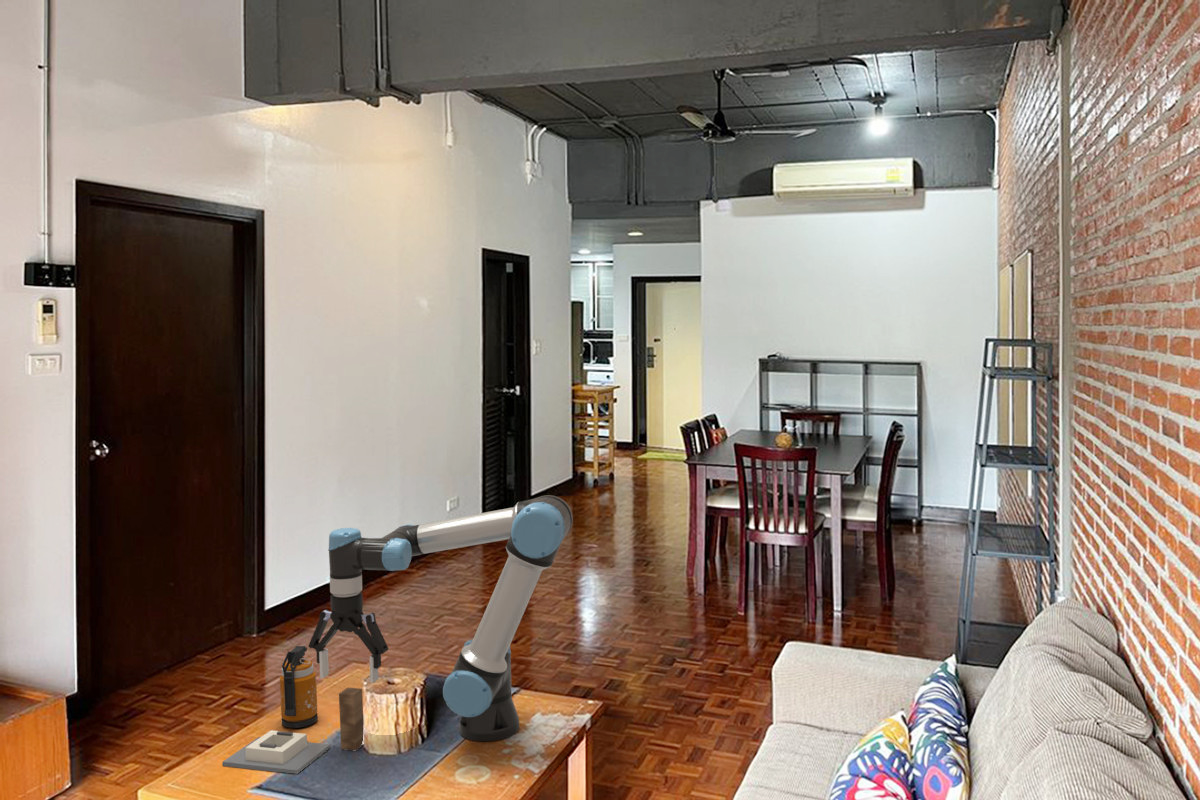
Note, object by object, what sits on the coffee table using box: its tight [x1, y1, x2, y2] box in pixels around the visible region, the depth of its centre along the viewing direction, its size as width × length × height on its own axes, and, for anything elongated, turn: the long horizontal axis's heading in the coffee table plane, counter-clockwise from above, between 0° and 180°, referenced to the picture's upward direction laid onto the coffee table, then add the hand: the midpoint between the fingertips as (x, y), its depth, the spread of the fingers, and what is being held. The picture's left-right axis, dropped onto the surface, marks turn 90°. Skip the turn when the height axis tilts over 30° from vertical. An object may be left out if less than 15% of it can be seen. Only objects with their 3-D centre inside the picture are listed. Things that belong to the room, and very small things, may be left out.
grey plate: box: [221, 730, 331, 775], centre depth 225 cm, size 20×14×5 cm
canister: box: [279, 645, 319, 729], centre depth 243 cm, size 9×11×20 cm
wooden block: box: [338, 687, 364, 751], centre depth 229 cm, size 4×4×14 cm
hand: (349, 678), depth 228 cm, fingers open, 13 cm apart
